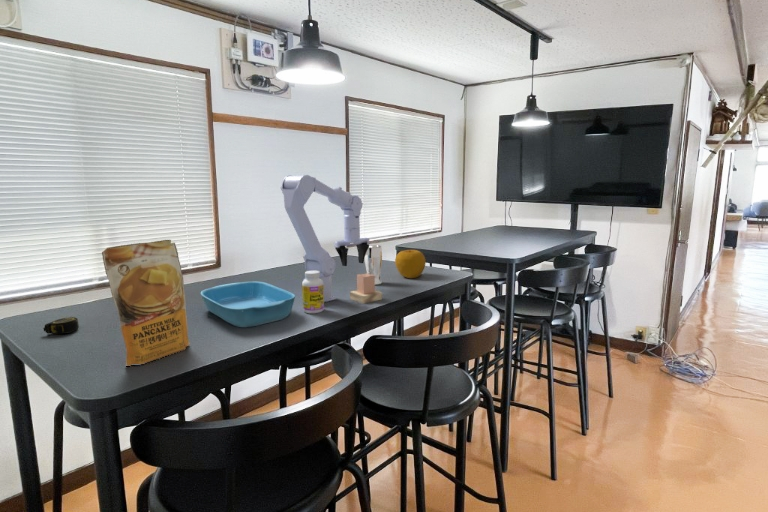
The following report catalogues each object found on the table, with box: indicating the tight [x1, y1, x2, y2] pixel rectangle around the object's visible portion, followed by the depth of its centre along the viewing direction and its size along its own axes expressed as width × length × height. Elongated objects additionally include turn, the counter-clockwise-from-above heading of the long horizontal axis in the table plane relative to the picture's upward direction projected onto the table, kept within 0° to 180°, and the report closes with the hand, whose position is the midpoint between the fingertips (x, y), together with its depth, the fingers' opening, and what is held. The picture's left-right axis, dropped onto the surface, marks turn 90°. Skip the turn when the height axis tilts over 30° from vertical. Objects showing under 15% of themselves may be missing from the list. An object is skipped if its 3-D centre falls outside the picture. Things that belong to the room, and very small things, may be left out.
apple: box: [394, 249, 427, 279], centre depth 192 cm, size 13×13×11 cm
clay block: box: [356, 272, 376, 294], centre depth 158 cm, size 4×4×6 cm
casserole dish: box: [200, 280, 296, 328], centre depth 144 cm, size 37×22×7 cm, turn 40°
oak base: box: [349, 289, 383, 304], centre depth 159 cm, size 8×8×3 cm
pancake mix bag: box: [101, 239, 191, 368], centre depth 109 cm, size 7×19×28 cm, turn 146°
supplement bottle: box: [301, 270, 325, 314], centre depth 145 cm, size 7×7×13 cm
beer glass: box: [364, 244, 383, 286], centre depth 180 cm, size 7×7×15 cm
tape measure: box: [42, 316, 80, 335], centre depth 130 cm, size 7×7×4 cm
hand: (352, 264), depth 170 cm, fingers open, 7 cm apart
